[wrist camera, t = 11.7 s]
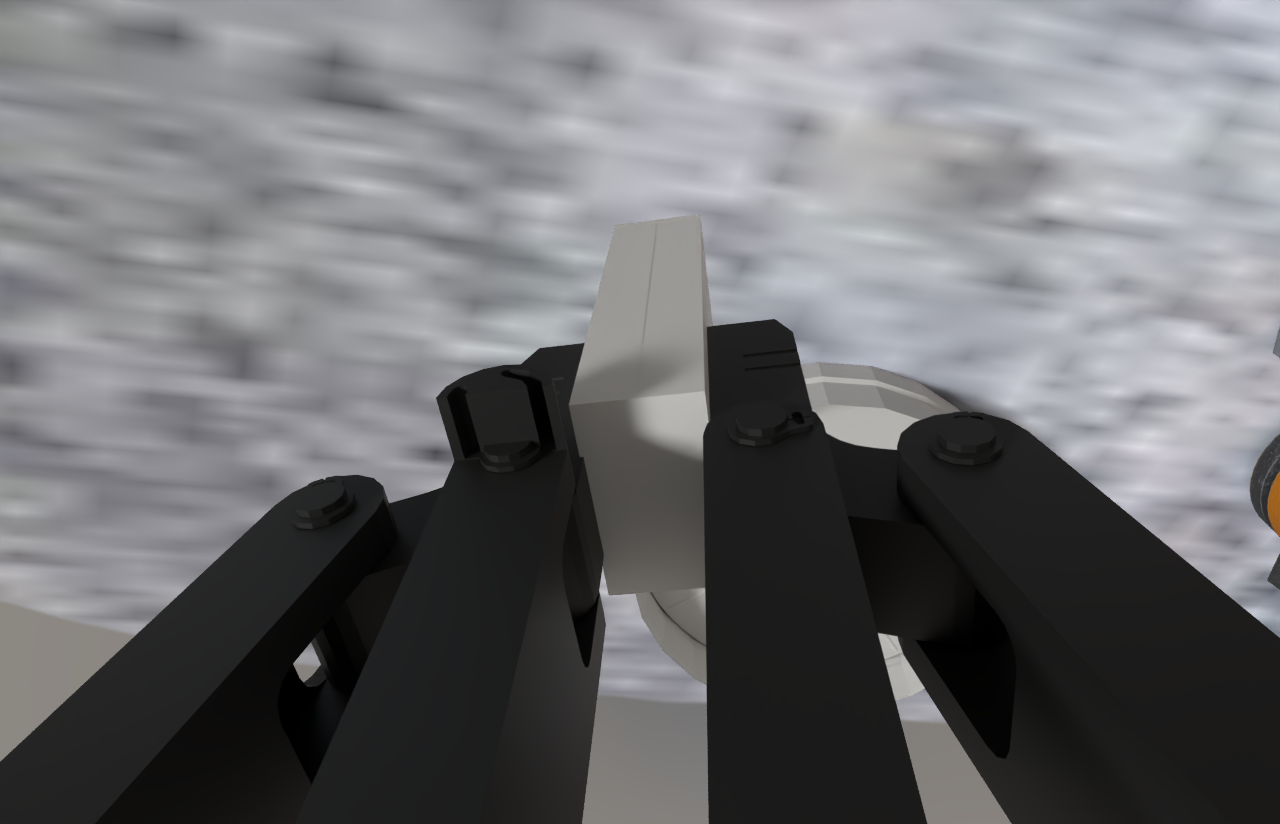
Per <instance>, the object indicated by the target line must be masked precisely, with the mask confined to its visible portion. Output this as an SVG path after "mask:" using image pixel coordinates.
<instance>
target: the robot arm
mask: <svg viewBox="0 0 1280 824" xmlns="http://www.w3.org/2000/svg"><path fill="white" fill-rule="evenodd" d="M436 399H437V403H438V406H439V409H440V413H441V416H442V420H443V423H444V426H445V430H446V433H447V437H448V440H449V443H450V447H451V450H452V453H453V457H454V460H455V461H454V463H453V466H452V468H451V470H450V473H449V475H448V477H447V479H446V482H445V484H444V486H443V487H442V488H439V489H436V490H433V491H431V492H428V493H425V494H421V495H418V496H414V497H411V498H407V499H403V500H400V501H396V502H393V503H389V502H388V499H387V496H386V493H385V491H384V488H383V486H382V485H381V484H380V483H379V482H377V481H376V480H375V479H374V478H370V477H365V476H360V475H349V476H333V477H328V478H326V479H325V480H323V479H320V480H317V481H314V482H312V483H310V484H308V485H307V486H306V487H304V488H301V489H299V490H297V491H295V492H293V493H291V494H290V495H289V496H287V497H286V498H285V499H283V500H282V501H280V502H279V503H278V504H276V505H275V506H274V507H273V508H272V509H271V510H270V511H268V512H267V513H266V514H265V515H264V516H263V517H262V518H261V519H260V520H259V521H258V522H257V523H256V524H255V525H253V526H252V527H251V528H250V529H249V530H248V531H247V532H246V533H245V534H244V535H243V536H242V537H241V538H240V539H238V540H237V541H236V542H235V543H234V544H233V545H232V546H231V547H230V548H229V549H228V550H227V551H226V552H225V553H223V554H222V555H221V556H220V557H219V558H218V559H217V560H216V561H215V562H214V563H213V564H212V565H211V566H210V567H208V568H207V569H206V570H205V571H204V572H203V573H202V574H201V575H200V576H199V577H198V578H197V579H196V580H195V581H193V582H192V583H191V584H190V585H189V586H188V587H187V588H186V589H185V590H184V591H183V592H182V593H181V594H180V595H178V596H177V597H176V598H175V599H174V600H173V601H172V602H171V603H170V604H169V605H168V606H167V607H166V608H165V609H163V610H162V611H161V612H160V613H159V614H158V615H157V616H156V617H155V618H154V619H153V620H152V621H151V622H150V623H148V624H147V625H146V626H145V627H144V628H143V629H142V630H141V631H140V632H139V633H138V634H137V635H136V636H135V637H134V638H132V639H131V640H130V641H129V642H128V643H127V644H126V645H125V646H124V647H123V648H122V649H121V650H120V651H119V652H117V653H116V654H115V655H114V656H113V657H112V658H111V659H110V660H109V661H108V662H107V663H106V664H105V665H104V666H103V667H101V668H100V669H99V670H98V671H97V672H96V673H95V674H94V675H93V676H92V677H91V678H90V679H88V681H86V682H85V683H84V684H83V685H82V686H81V687H80V688H79V689H78V690H77V691H76V692H75V693H74V694H72V696H70V697H69V698H68V699H67V700H66V701H65V702H64V703H63V704H62V705H61V706H60V707H59V708H57V709H56V710H55V711H54V712H53V713H52V714H51V715H50V716H49V717H48V718H47V719H46V720H45V721H44V722H43V723H41V724H40V725H39V726H38V727H37V728H36V729H35V730H34V731H33V732H32V733H31V734H30V735H29V736H27V737H26V738H25V739H24V740H23V741H22V742H21V743H20V744H19V745H18V746H17V747H16V748H15V749H13V751H11V752H10V753H9V754H8V755H7V756H6V757H5V758H4V759H3V760H2V761H1V762H0V824H582V818H583V810H584V801H585V793H586V784H587V776H588V767H589V760H590V751H591V743H592V735H593V727H594V718H595V709H596V701H597V693H598V685H599V677H600V668H601V660H602V652H603V643H604V635H605V627H606V623H605V617H604V611H603V606H602V602H601V597H600V593H599V587H600V580H601V573H602V566H603V569H604V574H605V579H606V584H607V588H608V593H609V595H621V594H633V593H646V592H659V591H672V590H685V589H698V588H705V607H706V672H707V736H708V801H709V802H708V803H709V824H927V821H926V817H925V813H924V809H923V806H922V802H921V798H920V794H919V790H918V786H917V782H916V779H915V775H914V771H913V767H912V763H911V759H910V755H909V752H908V748H907V744H906V740H905V736H904V732H903V729H902V725H901V721H900V717H899V713H898V709H897V705H896V701H895V697H894V694H893V690H892V686H891V682H890V678H889V674H888V670H887V666H886V663H885V659H884V655H883V651H882V647H881V643H880V639H879V636H878V633H881V634H886V635H892V636H898V641H899V644H900V647H901V650H902V652H903V655H904V656H905V658H906V660H907V661H908V663H909V664H910V666H911V667H912V669H913V671H914V672H915V674H916V675H917V677H918V678H919V680H920V681H921V683H922V685H923V686H924V688H925V689H926V691H927V692H928V694H929V695H930V697H931V699H932V700H933V702H934V703H935V705H936V706H937V708H938V709H939V711H940V713H941V714H942V716H943V717H944V719H945V720H946V722H947V724H948V725H949V727H950V728H951V730H952V731H953V733H954V734H955V736H956V738H957V739H958V741H959V742H960V744H961V745H962V747H963V748H964V750H965V752H966V753H967V755H968V756H969V758H970V759H971V761H972V762H973V764H974V765H975V767H976V769H977V770H978V772H979V773H980V775H981V777H982V778H983V780H984V781H985V783H986V784H987V786H988V787H989V789H990V790H991V792H992V794H993V795H994V797H995V798H996V800H997V801H998V803H999V805H1000V806H1001V808H1002V809H1003V811H1004V812H1005V814H1006V815H1007V817H1008V819H1009V820H1010V822H1011V823H1012V824H1280V638H1279V637H1278V636H1277V635H1275V634H1274V633H1273V632H1272V631H1271V630H1269V629H1268V628H1267V627H1266V626H1264V625H1263V624H1262V623H1261V622H1260V621H1258V620H1257V619H1256V618H1255V617H1253V616H1252V615H1251V614H1250V613H1249V612H1247V611H1246V610H1245V609H1244V608H1243V607H1241V606H1240V605H1239V604H1238V603H1236V602H1235V601H1234V600H1233V599H1232V598H1230V597H1229V596H1228V595H1227V594H1225V593H1224V592H1223V591H1222V590H1221V589H1219V588H1218V587H1217V586H1216V585H1215V584H1213V583H1212V582H1211V581H1210V580H1208V579H1207V578H1206V577H1205V576H1204V575H1202V574H1201V573H1200V572H1199V571H1197V570H1196V569H1195V568H1194V567H1193V566H1191V565H1190V564H1189V563H1188V562H1187V561H1185V560H1184V559H1183V558H1182V557H1180V556H1179V555H1178V554H1177V553H1176V552H1174V551H1173V550H1172V549H1171V548H1169V547H1168V546H1167V545H1166V544H1165V543H1163V542H1162V541H1161V540H1160V539H1159V538H1157V537H1156V536H1155V535H1154V534H1152V533H1151V532H1150V531H1149V530H1148V529H1146V528H1145V527H1144V526H1143V525H1141V524H1140V523H1139V522H1138V521H1137V520H1135V519H1134V518H1133V517H1132V516H1131V515H1129V514H1128V513H1127V512H1126V511H1124V510H1123V509H1122V508H1121V507H1120V506H1118V505H1117V504H1116V503H1115V502H1113V501H1112V500H1111V499H1110V498H1109V497H1107V496H1106V495H1105V494H1104V493H1102V492H1101V491H1100V490H1099V489H1098V488H1096V487H1095V486H1094V485H1093V484H1092V483H1090V482H1089V481H1088V480H1087V479H1085V478H1084V477H1083V476H1082V475H1081V474H1079V473H1078V472H1077V471H1076V470H1074V469H1073V468H1072V467H1071V466H1070V465H1068V464H1067V463H1066V462H1065V461H1064V460H1062V459H1061V458H1060V457H1059V456H1057V455H1056V454H1055V453H1054V452H1053V451H1051V450H1050V449H1049V448H1048V447H1046V446H1045V445H1044V444H1043V443H1042V442H1040V441H1039V440H1038V439H1037V438H1036V437H1034V436H1033V435H1032V434H1031V433H1029V432H1028V431H1027V430H1025V429H1023V428H1021V427H1020V426H1018V425H1016V424H1014V423H1013V422H1011V421H1009V420H1005V419H1002V418H998V417H994V416H991V415H987V414H984V413H977V412H971V413H968V412H952V413H948V414H939V415H933V416H930V417H928V418H925V419H922V420H919V421H916V422H914V423H913V424H911V425H910V426H909V427H908V428H907V429H905V430H904V431H903V432H902V433H901V435H900V438H899V441H898V444H897V450H893V449H881V448H872V447H865V446H859V445H854V444H851V443H848V442H844V441H841V440H839V439H837V438H835V437H833V436H831V435H829V434H827V433H826V431H825V427H824V424H823V422H822V421H821V419H820V418H819V416H818V415H817V413H816V412H814V411H812V407H811V403H810V399H809V395H808V391H807V387H806V383H805V379H804V375H803V371H802V367H801V364H800V359H799V355H798V352H797V347H796V343H795V339H794V335H793V332H792V331H791V330H789V329H788V328H786V327H785V326H784V325H782V324H781V323H779V322H778V321H777V320H775V319H772V320H763V321H754V322H745V323H736V324H727V325H719V326H713V323H712V315H711V306H710V297H709V289H708V280H707V271H706V262H705V254H704V245H703V236H702V228H701V219H700V214H699V215H692V216H684V217H676V218H668V219H660V220H653V221H645V222H637V223H629V224H621V225H615V228H614V232H613V236H612V240H611V244H610V247H609V251H608V255H607V259H606V263H605V267H604V271H603V275H602V278H601V282H600V286H599V290H598V294H597V298H596V302H595V305H594V309H593V313H592V317H591V321H590V325H589V329H588V332H587V336H586V340H585V343H582V344H573V345H564V346H555V347H546V348H539V349H538V350H537V351H536V352H535V353H534V354H532V355H531V356H530V357H529V358H528V359H527V360H525V361H524V362H523V363H522V364H521V365H502V366H497V367H492V368H487V369H483V370H480V371H477V372H474V373H472V374H469V375H466V376H464V377H462V378H460V379H458V380H457V381H455V382H453V383H452V384H450V385H448V386H447V387H445V389H444V390H443V391H442V392H441V393H440V394H439V395H438V396H437V397H436ZM310 642H311V643H312V645H313V647H314V650H315V652H316V654H317V656H318V659H319V661H320V663H321V665H320V667H319V668H318V669H317V670H316V672H315V673H314V674H313V676H311V677H310V678H309V679H308V680H306V681H305V682H304V683H303V682H302V680H301V679H300V678H299V676H298V674H297V672H296V669H295V667H294V665H293V663H294V662H295V661H296V659H297V658H298V657H299V656H300V655H301V653H302V652H303V651H304V650H305V649H306V647H307V646H308V645H309V644H310Z"/></svg>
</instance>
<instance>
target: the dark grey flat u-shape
mask: <svg viewBox="0 0 1280 824" xmlns="http://www.w3.org/2000/svg"><path fill="white" fill-rule="evenodd" d="M1273 353H1274V354H1275V355H1277V356H1278V357H1279V358H1280V329H1279V333H1278V336H1277V340H1276V344H1275V347H1274V351H1273Z"/></svg>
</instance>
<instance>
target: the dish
mask: <svg viewBox="0 0 1280 824" xmlns="http://www.w3.org/2000/svg"><path fill="white" fill-rule="evenodd" d="M801 367H802V371H803V375H804V379H805V383H806V387H807V391H808V395H809V399H810V403H811V407H812V411H814V412H816V413H817V415H818V416H819V418H820V419H821V421H822V422H823V424H824V427H825V431H826V433H827V434H829V435H831V436H833V437H835V438H837V439H839V440H841V441H844V442H848V443H851V444H854V445H859V446H865V447H872V448H881V449H893V450H897V444H898V441H899V438H900V435H901V433H902V432H903V431H904V430H905V429H907V428H908V427H909V426H910V425H911V424H913V423H914V422H916V421H919V420H922V419H925V418H928V417H930V416H933V415H939V414H948V413H952V412H960V411H959V409H958V408H957V407H955V406H954V405H952V404H951V403H949V402H948V401H946V400H945V399H943V398H942V397H940V396H939V395H937V394H936V393H934V392H933V391H931V390H930V389H928V388H927V387H925V386H924V385H922V384H921V383H919V382H917V381H914V380H911V379H908V378H905V377H902V376H899V375H896V374H893V373H890V372H887V371H884V370H881V369H878V368H875V367H872V366H864V365H850V364H835V363H821V362H816V363H810V364H804V365H801ZM636 597H637V601H638V604H639V608H640V612H641V616H642V618H643V620H644V622H645V623H646V625H647V626H648V628H649V629H650V631H651V633H652V634H653V636H654V637H655V639H656V640H657V642H658V644H659V645H660V647H661V648H662V650H663V651H664V652H665V653H666V654H667V655H668V656H669V657H671V658H672V659H673V660H674V661H675V662H676V663H677V664H679V665H680V666H681V667H682V668H683V669H684V670H685V671H686V672H688V673H689V674H690V675H691V676H692V677H693V678H695V679H697V680H698V681H700V682H702V683H704V684H706V685H707V672H706V607H705V588H698V589H685V590H672V591H659V592H646V593H636ZM878 636H879V639H880V643H881V647H882V651H883V655H884V659H885V663H886V666H887V670H888V674H889V678H890V682H891V686H892V690H893V694H894V697H895V700H898V699H902V698H905V697H908V696H911V695H913V694H915V693H917V692H919V691H921V690H923V689H924V686H923V685H922V683H921V681H920V680H919V678H918V677H917V675H916V674H915V672H914V671H913V669H912V667H911V666H910V664H909V663H908V661H907V660H906V658H905V656H904V655H903V652H902V650H901V647H900V644H899V641H898V636H892V635H886V634H881V633H878Z"/></svg>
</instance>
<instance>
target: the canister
mask: <svg viewBox="0 0 1280 824" xmlns="http://www.w3.org/2000/svg"><path fill="white" fill-rule="evenodd" d="M1250 496H1251V501H1252V504H1253V507H1254V509H1255V511H1256V512H1257V514H1258V515H1259V517H1260V518H1261V519H1262V520H1263V521H1264V522H1265V523H1266V524H1267V525H1268V526H1269V527H1270V528H1271V529H1272V530H1274V531H1275V532H1276V533H1277V535H1278V536H1279V537H1280V434H1279V435H1278V436H1277V437H1275V438H1274V440H1273V441H1272V442H1271V443H1270V444H1269V445H1268V446H1267V447H1266V449H1265V450H1264V452H1263V453H1262V455H1261V456H1260V458H1259V459H1258V461H1257V463H1256V466H1255V468H1254V470H1253V473H1252V477H1251V482H1250ZM1267 581H1269V582H1270V583H1271V584H1273V585H1274V586H1275V587H1277V588H1278V589H1280V554H1279V556H1278V558H1277V560H1276V562H1275V565H1274V567H1273V569H1272V571H1271V573H1270V575H1269V577H1268V579H1267Z"/></svg>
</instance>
